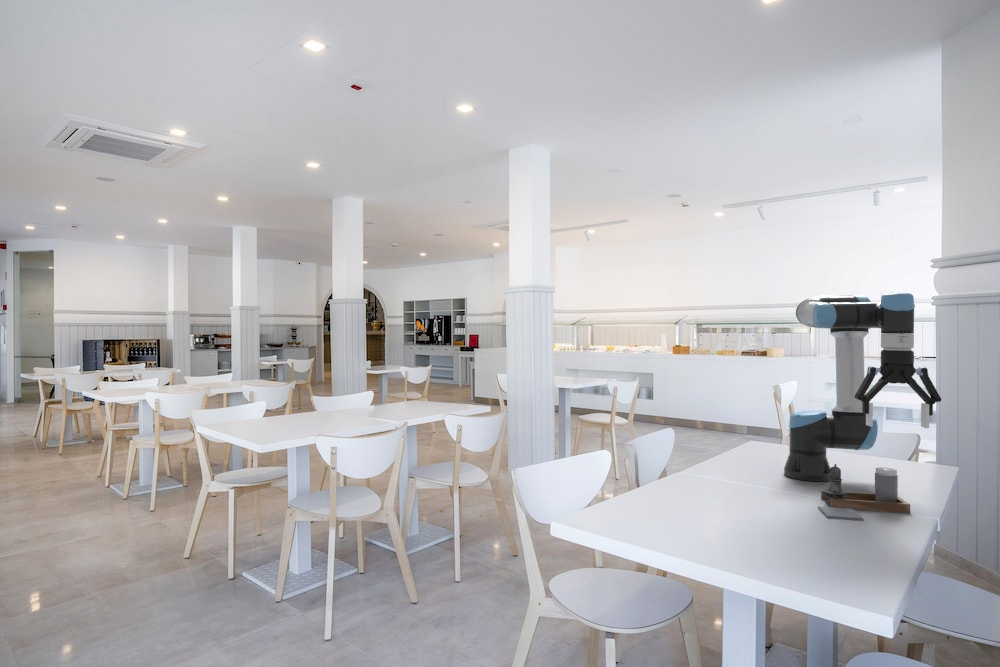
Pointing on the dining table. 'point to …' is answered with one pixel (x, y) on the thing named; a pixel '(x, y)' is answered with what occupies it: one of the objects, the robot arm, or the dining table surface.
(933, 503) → the dining table surface
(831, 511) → the coaster
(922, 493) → the dining table surface
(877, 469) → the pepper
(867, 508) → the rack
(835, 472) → the grey chess piece
